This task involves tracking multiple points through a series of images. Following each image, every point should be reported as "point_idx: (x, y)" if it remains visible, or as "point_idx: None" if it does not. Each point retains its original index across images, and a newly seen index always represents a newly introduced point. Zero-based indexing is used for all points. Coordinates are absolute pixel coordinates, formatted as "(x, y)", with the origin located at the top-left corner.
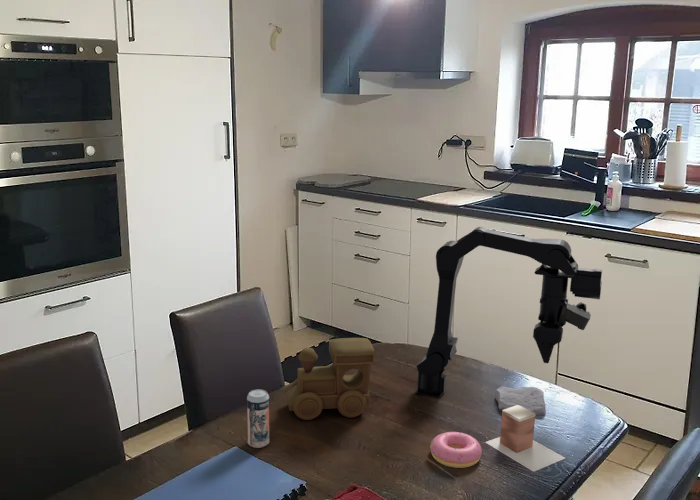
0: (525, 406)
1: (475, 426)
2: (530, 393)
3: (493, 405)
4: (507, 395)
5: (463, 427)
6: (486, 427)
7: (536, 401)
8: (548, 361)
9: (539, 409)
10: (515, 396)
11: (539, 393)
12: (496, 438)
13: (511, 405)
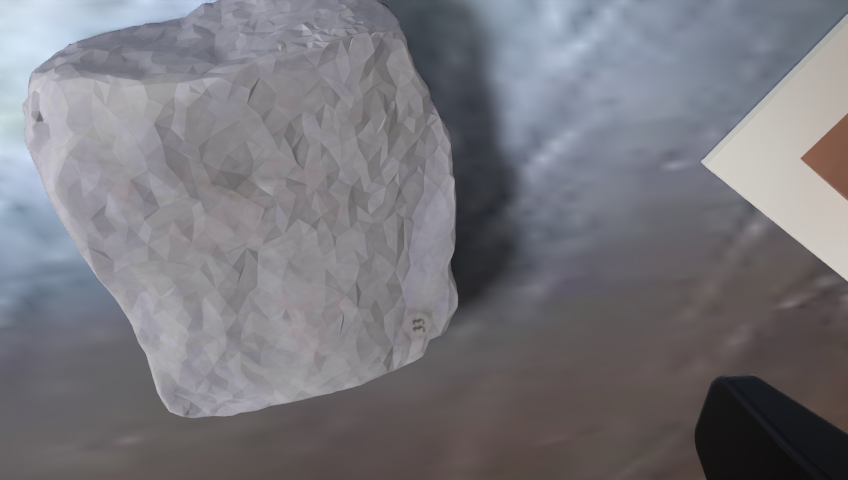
0: (409, 180)
1: (669, 376)
2: (232, 195)
3: None
4: (337, 344)
5: (692, 420)
6: (670, 326)
7: (346, 116)
8: (792, 405)
9: (411, 60)
10: (326, 291)
11: (201, 118)
12: (824, 256)
13: (451, 279)
